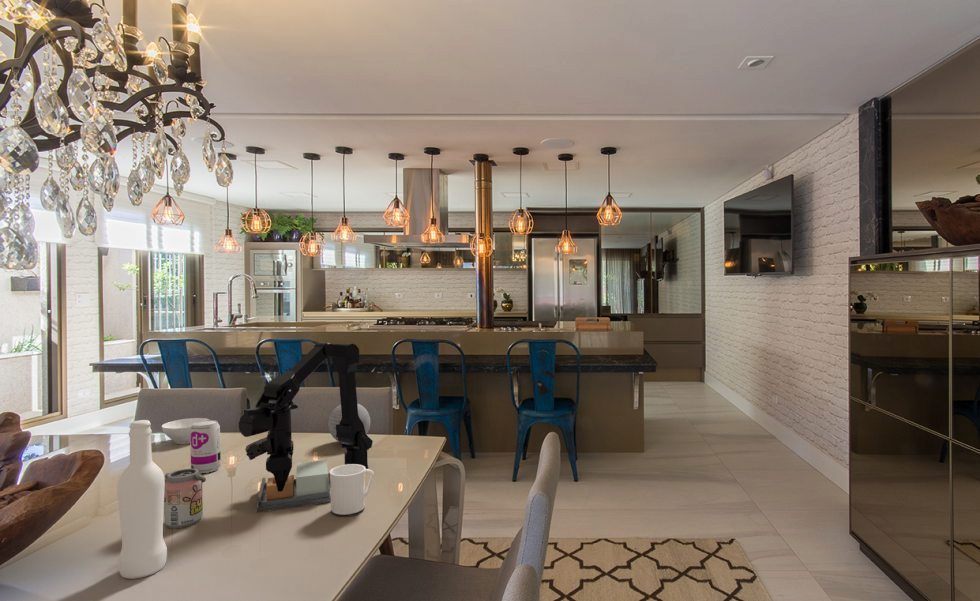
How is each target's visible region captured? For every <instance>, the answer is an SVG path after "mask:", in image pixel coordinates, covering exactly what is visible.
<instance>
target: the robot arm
mask: <svg viewBox="0 0 980 601" xmlns="http://www.w3.org/2000/svg"><path fill="white" fill-rule="evenodd" d="M327 358H331V364H332V365H333V367H334V368H335V370H336V371H337V373H338V374H337V375H338V386H339V396H340V399H339V400H340V405H341V411H342V419H341V421H340V423H339V424H336V437H338V441H337V442H339V443H340V446H341V448H343V449H345V451H346V452H344V456H343V457H344V459H343V461H344V465H347V464H358V465H363V466H365V468H366V469H369V465H368V464H369V463H368V451H369V450H370V449H371V448H372V447H373V441H374V440H372V439H371V437H370V436H368V435H367V434H366V432H365V427H364V424H363V422H362V421H361V419H360V418H359V416H358V405H357V403H358V395H357V385H356V384H357V383H356V370H357V368H358V365H359V363H360V348H359V346H358V345H356V344H354V343H349V342H348V343H344V342H337V343H330V342H317V343H316V344H314V346H313V348H312V349H311V350H310V351H308V353H306V355H304V356H303V357H302V358H301V359H300V360H298V361H297V363H296V364H295V365H294V366H292V367H291V368H290V370H288V371H286V372H285V373H283V374H281V375H278V376H276V377H274V378H273V379H271V380H270V381H269V382H267V383H266V384H265V386H264V388H263V389H264V391H263V392H262V394H261V395H260V397H259V398H258V401H257V402H256V404H255V407H254V408H247V409H243V414H242V415H241V416H240V419H239V421H238V429H239V432H240V434H241V435H242V436H243V437H245V438H248V437H252V436H257V435H260V434H263V433H267V435H266V437H262V438H260V439H258V440H256V441H253V442H251V443H249V444H247V445H246V446H245V449H244V450H245V453H246V456H247V457H248V459H249V460H250V461H252V460H254V459H256V458H257V457H260V456H261V455H263V454H266V455H269V456H268V457H267V458H266V460H265V470H266V471H267V473H271V474H272V475H273V477H274V478H275V482H276V485H277V489H278V492H281V491H283V489H284V486H285V484H286V481H287V478H288V476H289V475H290V472H291V471H292V468H293V454H294V447H295V446H294V444H295V443H294V441H293V439H292V436H293V435H292V433H293V431H292V430H293V429H292V410H296V409H298V408H299V407H298V405H297V404H296V403H294V402H293V400H294V398H295V397H296V395H298V393H299V392H300V388H301V385H302V384H303V382H304V381H305V380H306V379H307V378H308V377H309V376H310V375H312V373H313V372H315V370H316V369H317V368H319V366H320V365H322V363H324V362H325V361H326V359H327Z"/></svg>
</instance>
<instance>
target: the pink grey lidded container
mask: <svg viewBox="0 0 980 601" xmlns="http://www.w3.org/2000/svg"><path fill="white" fill-rule="evenodd" d="M164 478H165V480H166V482H165V488H164V510H163V524H164V525H165V526H166V527H167V528H170V529H182V528H186V527H187V528H188V527H190V526H193V525H195V524H197V523H198V522H200V520H202V518H203V515H204V505H203V504H204V502H203V498H204V497H203V496H204V494H203V483H205V482H206V481H207V479H206V478H207V477H206V476H205V475H204V476H203V474H200V473H199V471H198V470H197V469H191V468H184V469H183V468H182V469H178V470H173V471H171V472H166V473H165V474H164Z"/></svg>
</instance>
